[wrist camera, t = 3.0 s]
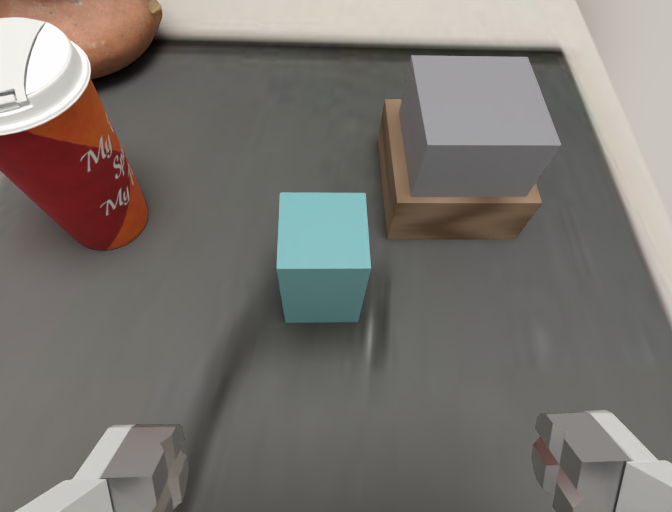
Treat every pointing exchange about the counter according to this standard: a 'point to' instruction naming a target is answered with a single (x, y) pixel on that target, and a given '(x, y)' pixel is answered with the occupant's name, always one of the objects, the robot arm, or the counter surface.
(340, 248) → the teal block
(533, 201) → the walnut base block
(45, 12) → the ceramic jug
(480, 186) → the grey top block
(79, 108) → the paper cup
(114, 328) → the counter surface
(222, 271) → the counter surface
